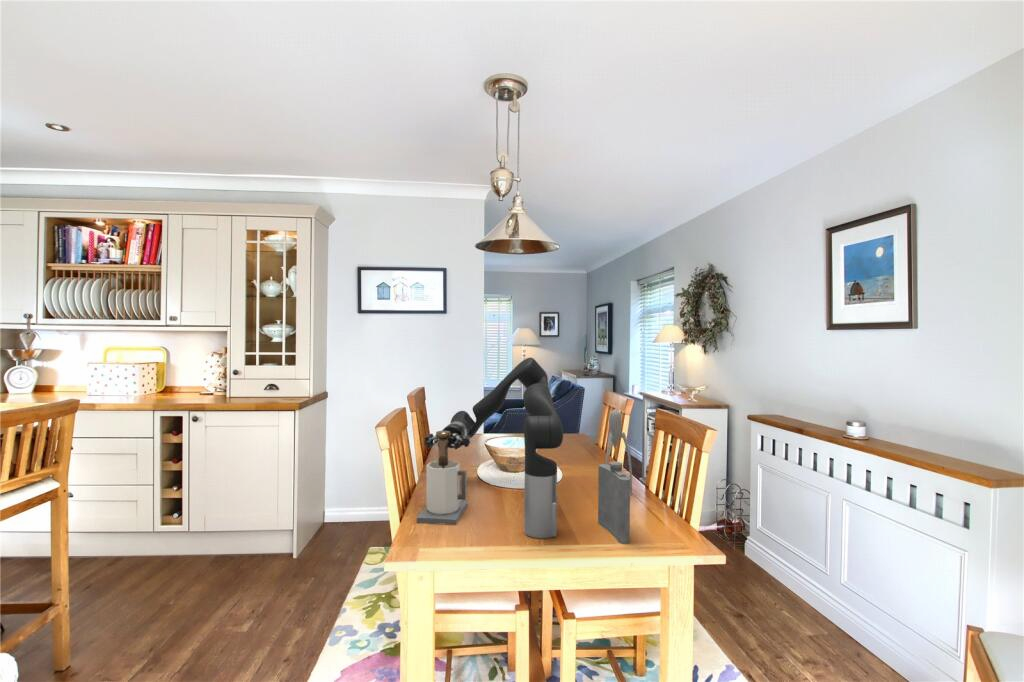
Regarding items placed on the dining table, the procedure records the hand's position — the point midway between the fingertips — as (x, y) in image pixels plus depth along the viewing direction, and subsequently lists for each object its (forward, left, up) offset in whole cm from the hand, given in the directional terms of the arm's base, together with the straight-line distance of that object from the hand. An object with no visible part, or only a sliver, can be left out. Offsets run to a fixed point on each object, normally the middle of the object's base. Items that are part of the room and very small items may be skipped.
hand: (442, 445), depth 155 cm
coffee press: (0, -1, -22) cm, 22 cm away
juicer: (-56, -26, -22) cm, 66 cm away
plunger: (0, -1, -19) cm, 19 cm away
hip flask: (-52, +6, -22) cm, 57 cm away
